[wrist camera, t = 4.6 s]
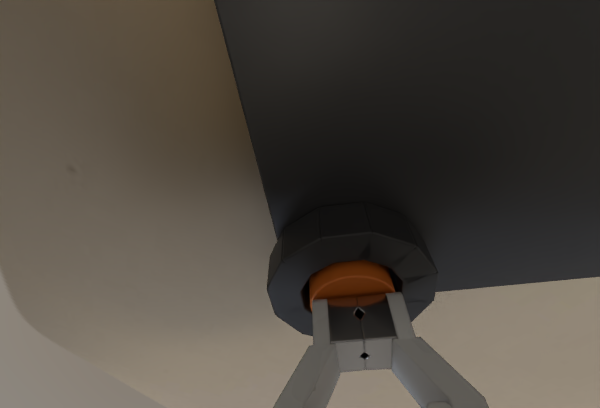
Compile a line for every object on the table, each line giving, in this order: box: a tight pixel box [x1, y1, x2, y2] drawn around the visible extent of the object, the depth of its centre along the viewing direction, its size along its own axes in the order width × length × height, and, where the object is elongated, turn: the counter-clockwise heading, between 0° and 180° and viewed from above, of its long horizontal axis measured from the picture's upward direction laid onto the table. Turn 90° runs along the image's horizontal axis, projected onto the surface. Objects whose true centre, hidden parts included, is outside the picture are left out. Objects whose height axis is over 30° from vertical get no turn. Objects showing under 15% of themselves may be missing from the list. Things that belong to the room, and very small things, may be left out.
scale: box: [214, 0, 600, 336], centre depth 11 cm, size 16×12×4 cm
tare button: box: [309, 260, 395, 311], centre depth 12 cm, size 3×3×2 cm
